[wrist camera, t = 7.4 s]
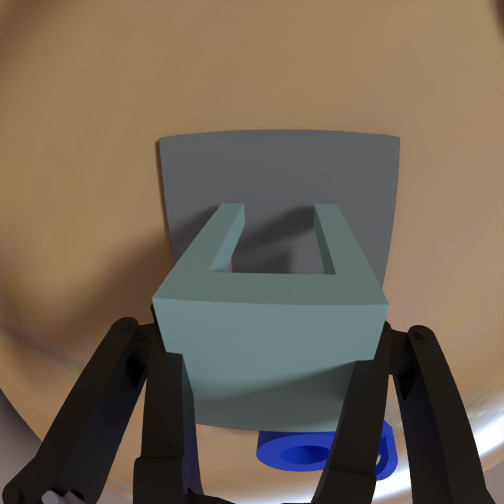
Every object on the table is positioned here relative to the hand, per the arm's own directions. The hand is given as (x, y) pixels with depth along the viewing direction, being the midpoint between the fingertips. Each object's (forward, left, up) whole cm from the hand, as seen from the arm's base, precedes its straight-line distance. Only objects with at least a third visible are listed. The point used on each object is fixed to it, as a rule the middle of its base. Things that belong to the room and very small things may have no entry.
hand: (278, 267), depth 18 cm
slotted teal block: (0, 0, -2) cm, 2 cm away
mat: (0, 0, -3) cm, 3 cm away
